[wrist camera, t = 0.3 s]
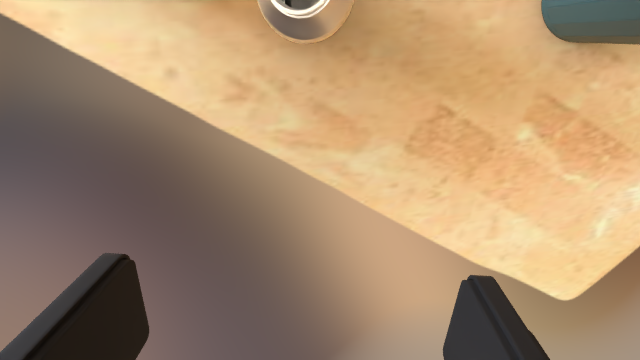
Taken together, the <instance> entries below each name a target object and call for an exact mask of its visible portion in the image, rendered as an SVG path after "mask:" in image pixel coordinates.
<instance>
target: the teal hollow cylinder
mask: <svg viewBox="0 0 640 360" xmlns="http://www.w3.org/2000/svg"><path fill="white" fill-rule="evenodd" d="M542 14H543V18H544V21H545V23H546V25H547V27H548V28H549V30H550V31H551V32H552V33H553V34H554V35H555V36H557V37H558V38H560V39H562V40H565V41H569V42H581V43H612V44H640V0H542Z"/></svg>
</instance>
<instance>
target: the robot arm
mask: <svg viewBox="0 0 640 360" xmlns="http://www.w3.org/2000/svg"><path fill="white" fill-rule="evenodd" d="M148 335H149V325H148V320H147V316H146V311H145V306H144V302H143V297H142V293H141V289H140V283H139V279H138V274H137V270H136V265H135V262H134V261H133V260H130V258H129V256H128V255H126V254H114V253H105V254H103V255H101V256H100V257H99V258H98V259H97V260H96V261H95V262H94V263H93V264H92V265H91V266H89V267H88V268H87V269H86V270H85V271H84V272H83V273H82V274H81V275H80V276H79V277H78V278H77V279H76V280H75V281H74V282H73V283H72V284H71V285H70V286H69V287H68V288H67V289H66V290H65V291H63V292H62V294H60V295H59V296H58V297H57V298H56V299H55V300H54V301H53V302H52V303H51V304H50V305H49V306H48V307H47V308H46V309H45V310H44V311H43V312H42V313H41V314H40V315H39V316H38V317H36V318H35V319H34V320H33V321H32V322H31V323H30V324H29V325H28V326H27V327H26V328H25V329H24V330H23V331H22V332H21V333H20V334H19V335H18V336H17V337H16V338H15V339H14V340H13V341H12V342H11V343H9V344H8V345H7V346H6V347H5V348H4V349H3V350H2V351H1V352H0V360H135V359H136V358H137V356H138V354H139V353H140V351H141V349H142V348H143V346H144V344H145V343H146V341H147V338H148ZM443 356H444V360H550V359H549V357H548V356H547V354H546V353H545V352H544V350H543V348H542V347H541V345H540V344H539V342H538V341H537V339H536V338H535V336H534V335H533V334H532V333H531V332H530V331H529V330H528V329H527V327H526V326H525V324H524V323H523V321H522V320H521V318H520V317H519V315H518V314H517V312H516V311H515V309H514V308H513V306H512V305H511V303H510V302H509V300H508V299H507V297H506V295H505V294H504V292H503V291H502V290H501V288H500V286H499V285H498V283H497V282H496V280H495V279H494V278H493V277H491V276H477V275H470V276H469V277H468V279H467V280H463V281H462V282H461V285H460V289H459V292H458V296H457V299H456V303H455V307H454V310H453V314H452V317H451V321H450V325H449V328H448V332H447V336H446V339H445V343H444V347H443Z"/></svg>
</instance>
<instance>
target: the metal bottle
mask: <svg viewBox="0 0 640 360" xmlns="http://www.w3.org/2000/svg"><path fill="white" fill-rule="evenodd" d="M257 2H258V5H259V9H260V11H261V13H262V15H263V17H264V19H265V20H266V22H267V23H268V24H269V26H270V27H271V28H272V29H273V30H274V31H275V32H276V33H277V34H278V35H280V36H281V37H283V38H285V39H286V40H289V41H292V42H294V43H301V44H311V43H316V42H319V41H322V40H324V39H326V38H328V37H330V36H332V35H333V34H334V33H335V32H336V31H337V30H338V29H339V28H340V27H341V26H342V25H343V23H344V22H345V21H346V19H347V17H348V15H349V13H350V12H351V9H352V6H353V3H354V0H257Z"/></svg>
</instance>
